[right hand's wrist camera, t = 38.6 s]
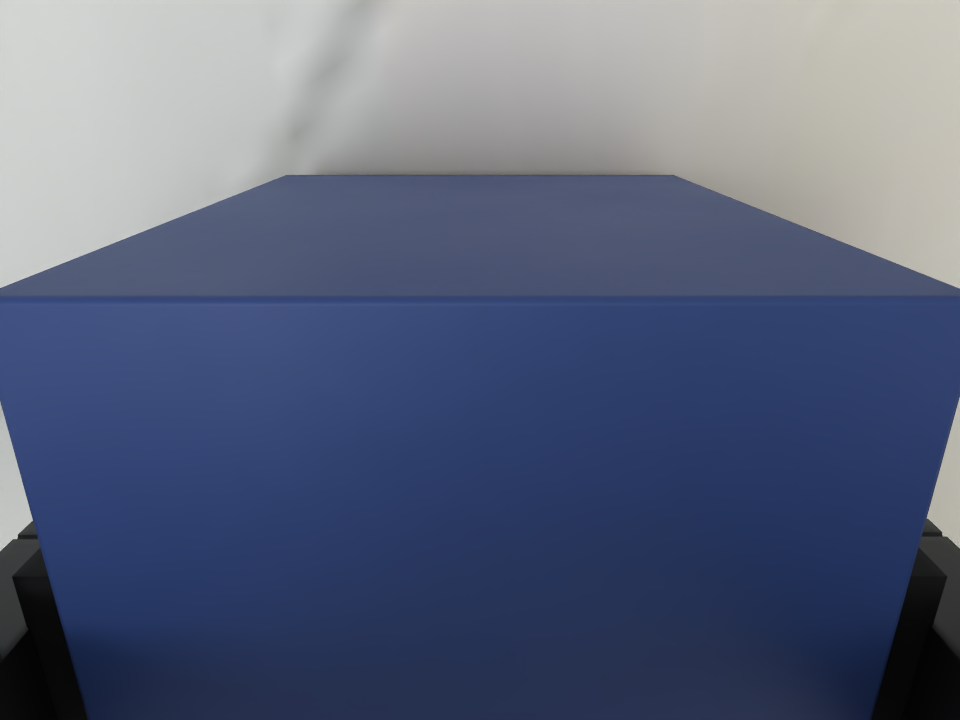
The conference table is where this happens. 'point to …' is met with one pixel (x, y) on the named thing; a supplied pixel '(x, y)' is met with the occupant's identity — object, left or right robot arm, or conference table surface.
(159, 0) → the conference table surface
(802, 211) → the conference table surface
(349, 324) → the block
